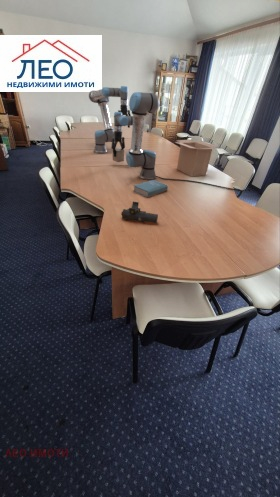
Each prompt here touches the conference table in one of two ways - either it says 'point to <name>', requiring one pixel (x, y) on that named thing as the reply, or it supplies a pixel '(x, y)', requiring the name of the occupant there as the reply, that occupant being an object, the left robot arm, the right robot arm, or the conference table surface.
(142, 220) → the laser sight
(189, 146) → the box
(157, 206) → the conference table surface
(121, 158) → the block
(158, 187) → the book
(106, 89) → the left robot arm
